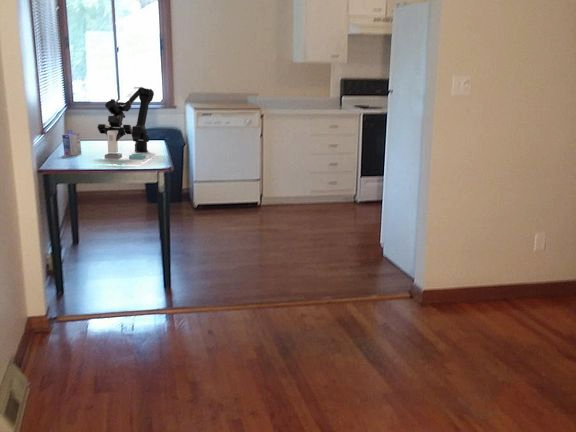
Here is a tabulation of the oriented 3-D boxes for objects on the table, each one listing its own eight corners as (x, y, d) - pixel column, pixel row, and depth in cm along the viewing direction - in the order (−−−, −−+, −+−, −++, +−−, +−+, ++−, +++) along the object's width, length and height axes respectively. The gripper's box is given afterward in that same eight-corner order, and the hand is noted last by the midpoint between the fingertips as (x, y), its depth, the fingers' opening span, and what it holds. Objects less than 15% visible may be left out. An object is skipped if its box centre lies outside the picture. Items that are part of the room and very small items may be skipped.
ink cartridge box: (74, 153, 370) (72, 128, 367) (81, 153, 369) (80, 129, 365) (63, 155, 361) (61, 130, 358) (71, 156, 360) (69, 131, 356)
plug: (110, 151, 352) (109, 130, 349) (117, 151, 352) (116, 130, 349) (107, 152, 347) (106, 131, 344) (115, 153, 347) (114, 131, 344)
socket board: (101, 160, 345) (100, 155, 345) (108, 157, 357) (108, 152, 356) (143, 161, 344) (143, 156, 344) (149, 158, 356) (149, 153, 355)
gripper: (97, 109, 349) (91, 131, 341) (130, 110, 348) (125, 132, 341) (103, 122, 359) (97, 143, 351) (134, 123, 358) (129, 144, 350)
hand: (112, 140), depth 348 cm, fingers closed on plug, 4 cm apart
